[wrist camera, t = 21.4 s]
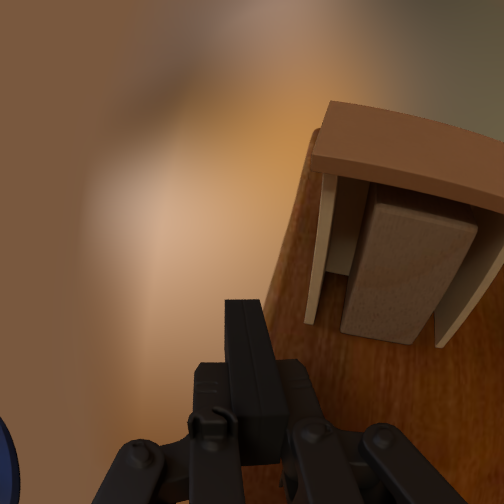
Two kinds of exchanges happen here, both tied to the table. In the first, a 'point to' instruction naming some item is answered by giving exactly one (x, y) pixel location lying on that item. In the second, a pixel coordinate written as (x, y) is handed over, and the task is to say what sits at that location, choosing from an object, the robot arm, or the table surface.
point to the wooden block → (404, 261)
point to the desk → (413, 178)
